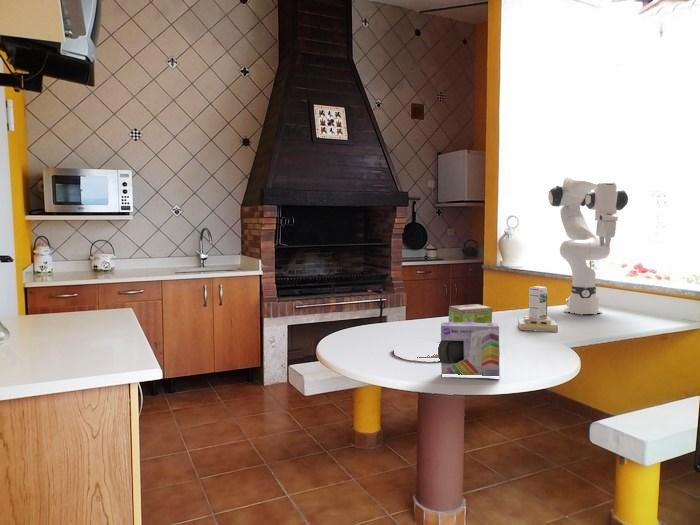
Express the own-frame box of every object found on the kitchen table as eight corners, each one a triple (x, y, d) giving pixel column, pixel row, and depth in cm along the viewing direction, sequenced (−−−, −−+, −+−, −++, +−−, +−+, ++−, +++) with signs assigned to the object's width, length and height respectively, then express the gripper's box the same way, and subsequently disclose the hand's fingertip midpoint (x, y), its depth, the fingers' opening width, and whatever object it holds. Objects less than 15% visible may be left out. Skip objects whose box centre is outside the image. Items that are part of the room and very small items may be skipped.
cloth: (523, 319, 249) (524, 315, 249) (548, 320, 246) (548, 316, 246) (525, 323, 240) (525, 319, 240) (551, 324, 238) (551, 320, 238)
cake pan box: (437, 378, 170) (438, 323, 169) (438, 373, 175) (438, 320, 174) (499, 381, 166) (500, 325, 165) (498, 376, 171) (499, 322, 170)
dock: (517, 325, 251) (518, 318, 251) (553, 326, 248) (553, 320, 247) (520, 330, 239) (520, 323, 239) (557, 332, 236) (557, 325, 236)
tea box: (461, 346, 212) (462, 309, 210) (447, 340, 221) (447, 305, 220) (492, 342, 218) (492, 306, 217) (476, 337, 227) (477, 303, 226)
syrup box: (538, 319, 239) (539, 287, 238) (528, 317, 244) (529, 286, 243) (547, 318, 242) (548, 286, 241) (536, 316, 247) (537, 285, 246)
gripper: (593, 216, 255) (592, 245, 256) (603, 216, 235) (602, 247, 236) (607, 216, 253) (606, 245, 255) (618, 216, 233) (617, 248, 235)
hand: (604, 246), depth 245 cm, fingers open, 8 cm apart
